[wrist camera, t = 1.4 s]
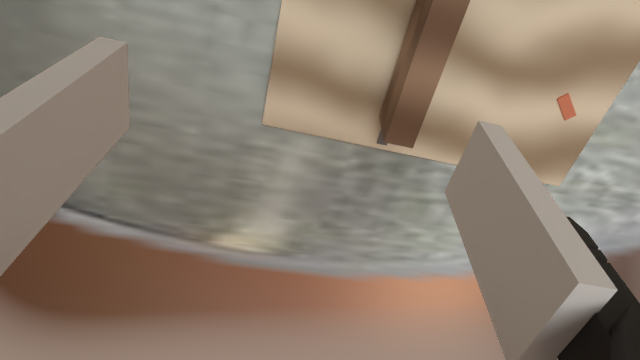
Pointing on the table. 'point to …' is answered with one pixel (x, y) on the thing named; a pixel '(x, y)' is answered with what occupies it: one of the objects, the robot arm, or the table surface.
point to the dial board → (458, 74)
